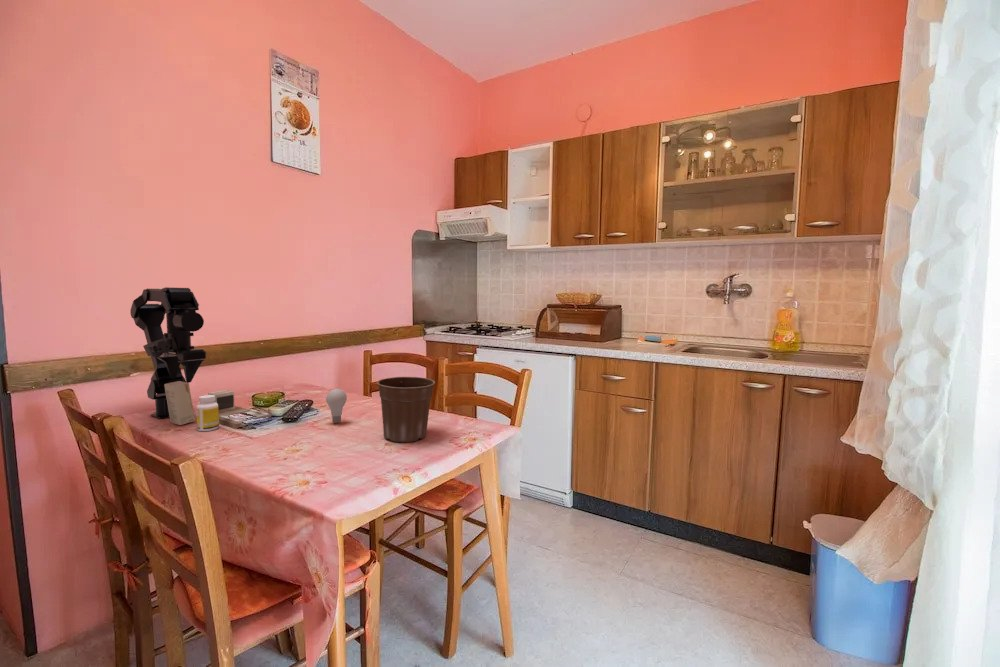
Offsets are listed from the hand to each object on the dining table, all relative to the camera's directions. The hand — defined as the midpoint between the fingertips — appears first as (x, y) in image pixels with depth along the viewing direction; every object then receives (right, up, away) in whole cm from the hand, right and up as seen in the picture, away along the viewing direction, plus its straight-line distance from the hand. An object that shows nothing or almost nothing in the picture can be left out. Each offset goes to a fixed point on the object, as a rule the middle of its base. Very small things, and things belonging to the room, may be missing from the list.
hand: (180, 380), depth 135 cm
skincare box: (0, -13, +1) cm, 13 cm away
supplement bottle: (+11, -14, -4) cm, 18 cm away
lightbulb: (+46, -14, +5) cm, 48 cm away
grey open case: (+12, -13, +7) cm, 19 cm away
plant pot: (+70, -16, -6) cm, 71 cm away
